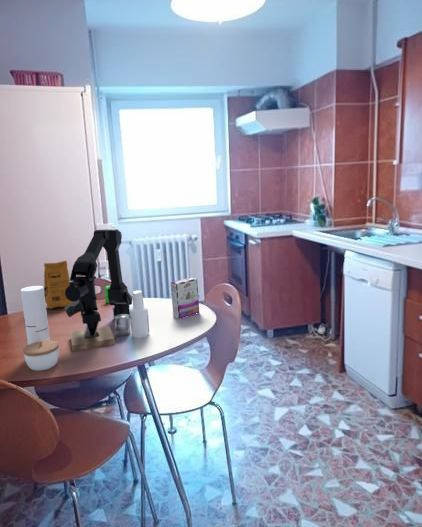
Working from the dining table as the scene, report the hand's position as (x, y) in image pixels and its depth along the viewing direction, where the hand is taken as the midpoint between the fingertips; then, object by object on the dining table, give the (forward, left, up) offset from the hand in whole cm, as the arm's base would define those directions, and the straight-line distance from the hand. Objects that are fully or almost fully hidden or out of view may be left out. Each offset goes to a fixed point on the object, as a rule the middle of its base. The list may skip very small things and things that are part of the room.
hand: (91, 333), depth 159 cm
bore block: (0, 0, -4) cm, 4 cm away
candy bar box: (-41, -13, -4) cm, 43 cm away
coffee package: (+11, -60, -4) cm, 61 cm away
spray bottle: (-18, +2, -4) cm, 18 cm away
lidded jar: (+17, +16, -4) cm, 24 cm away
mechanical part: (-17, -57, -4) cm, 59 cm away
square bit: (+1, 0, -1) cm, 1 cm away
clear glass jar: (-12, -2, -4) cm, 13 cm away
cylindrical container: (+18, +6, -4) cm, 19 cm away
